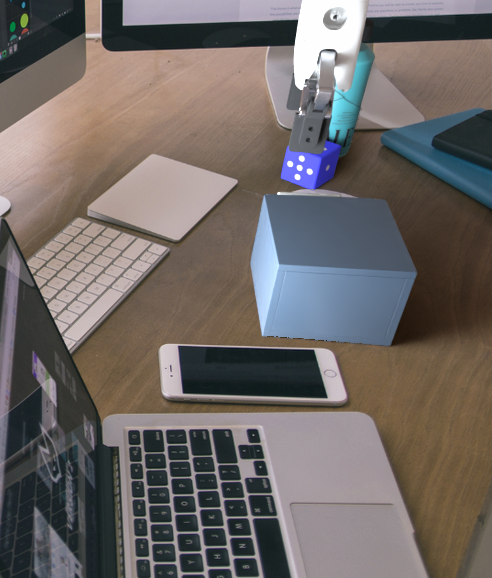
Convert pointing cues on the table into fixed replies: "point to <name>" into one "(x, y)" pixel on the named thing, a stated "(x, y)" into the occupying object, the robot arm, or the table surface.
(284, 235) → the cabinet
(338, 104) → the beverage bottle
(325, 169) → the die
